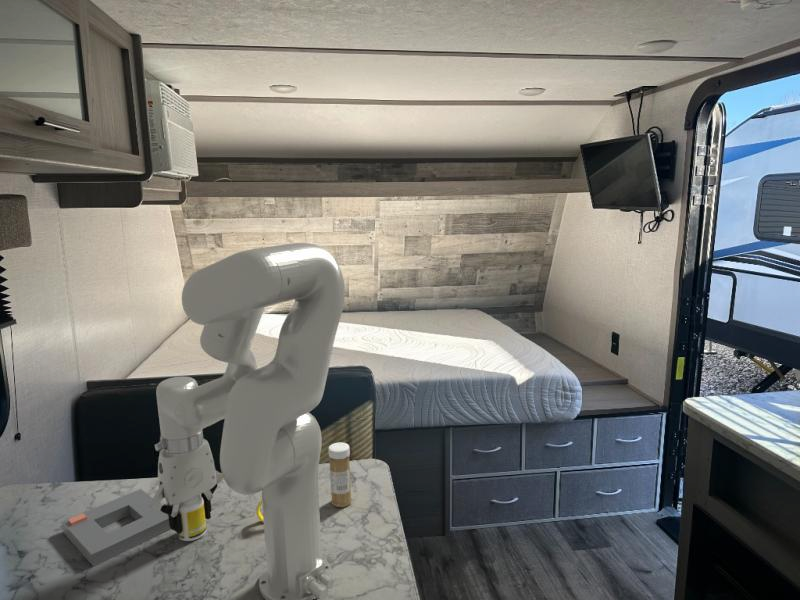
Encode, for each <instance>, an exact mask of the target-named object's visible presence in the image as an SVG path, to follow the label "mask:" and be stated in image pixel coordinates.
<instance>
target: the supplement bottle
mask: <svg viewBox="0 0 800 600" xmlns="http://www.w3.org/2000/svg"><path fill="white" fill-rule="evenodd" d="M178 513H179V514H180V515H181V523H182V533H180V534H178V533H177V535H178V538H179V540H181V541H183V542H192V541H195V540H198V539H200V538H202V537H203V536H205V534H206V532H207V521H206V520H207V519H206V518H205V509H204V501H203V498H202V497H201V494H199V495H197V496H195V497H193V498H191V499H189V500H186V501H184V502H182V503H180V504H179V509H178Z"/></svg>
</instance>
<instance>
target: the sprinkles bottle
mask: <svg viewBox="0 0 800 600" xmlns="http://www.w3.org/2000/svg"><path fill="white" fill-rule="evenodd" d="M350 449H351V448H350V445H349V444H348V443H346V442H335V443H331V445H329V446H328V452H327V453H328V458H329V474H330V476H329V477H330V479H329V480H330V491H331V504H332V506H333V507H336V508H345V507H348V506H349V505H351V504H352V493H351V492H352V490H351V489H352V484H351V483H352V480H351V469H350V468H351V467H350V455H351V451H350Z"/></svg>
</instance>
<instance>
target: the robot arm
mask: <svg viewBox="0 0 800 600" xmlns="http://www.w3.org/2000/svg"><path fill="white" fill-rule="evenodd" d="M345 286H346V285H345V280H344V276H343V273H342V270H341V268H340V265H339V264H338V262H337V260H336V259H335V257H334V256H333V255H332V253H330V252H329V251H328V250H327V249H326V248H324V247H322V246H320V245H317V244H315V243H311V242H310V243H309V242H308V243H307V242H294V243H286V244H280V245H278V244H277V245H273V246H266V247H259V248H252V249H247V250H243V251H239V252H236V253H234V254H231V255H229V256H227V257H225V258H223V259H221V260H218V261H216V262H214V263H212V264H209V265H207V266H205V267H202V268H201V269H198V270H196V271H195V272H193V274H191V275H190V276H189V277H188V278H187V280H186V281H185V282H184V285H183V287H182V292H181V304H182V310H183V311H184V313H185V315H186V317H188V319H189V320H191V322H193V323H195V324H196V325H200V326H203V328H202V331H201V334H200V338H199V344H200V348H202V350H203V352H204V353H206V355H208V356H209V357H211V358H213V359H214V360H217V361H219V362H220V361H221V362H224V363H227V366H226V368H225V369H226V370H225V372H224V373H223V375H222V376H220V377H218V378H216V379H213V380H210V381H208V382H205V383H203V384H200V385H198V382H197V380H196V379H195V378H193V377H191V376H174V377H170V378H166V379H164V380H162V381H161V382H160V383H158V385H157V387H156V391H155V393H156V404H157V411H158V419H159V427H160V428H159V429H160V436H159V440H160V441H158V443H156V444H154V448H155V451H156V452H159V454H158V455H159V456H158V462H157V482H158V483H157V484H158V486H157V487H158V489H157V490H156V492H155V494H154V495H153V496H152V498H153V499H152V500H151V502H150V504H149V506H150V507H151V508H152V509H155V510H158V511H161V512H163V513H166V514H168V517H169V526H170V528H171V529H170V530H171V531H174V532H175V533H177V535H178V534H180V533H182V523H181V515H180V514H179V513H178V509H179V504H180V503H182V502H184V501H186V500H189V499H191V498H193V497H195V496H197V495H200V496H201V497H202V498H203V501H204V509H205V519H206V520H211V518H212V515H211V512H212V503H211V502H212V501H211V500H212V499H213V498H214V495H213V494H214V493H215V491H216V489H217V488H218V485H219V484H220V483H221V481H222V480H223V479H224V481H225V484H227V486H228V487H229V488H230V490H232V491H233V492H235V493H237V494H240V495H244V496H246V495H247V496H249V495H255V494H258V493H260V492H261V500H262V504H261V505H262V516H263V521H264V522H263V531H264V533H263V534H264V544H265V557H266V566H265V567H264V569H263V570H262V571H261V573H260V576H259V579H258V587H259V593H260V595H261V596H262V597H263V598H264V599H265V600H313V599H314V600H315V599H318V600H326V599H327V598H328V596H329V589H328V588H331V587H333V585H334V582H335V581H334V579H333V578H332V567H331V565H330V563H329V562H328V560H327V559H326V558H325V557H323V554H322V535H321V534H322V533H321V519H320V516H321V515H320V502H319V501H320V500H319V499H320V494H319V493H320V491H319V469H320V467H319V466H320V458H321V453H322V445H323V444H322V442H323V441H322V440H323V439H322V431H321V430H322V429H321V427H320V425H319V422H318V421H317V419H316V417H315V416H314V415H312V413H310V412H311V411H312V410H314V409H315V408H316V407H318V405H319V404H320V402H321V401H322V399H323V396H324V391H325V389H326V387H325V386H326V382H327V377H328V373H329V369H330V364H331V358H332V355H333V350H334V344H335V340H336V335H337V330H338V327H339V323H340V322H341V321H340V320H341V317H342V313H343V309H344V306H345V305H344V304H345V297H346V296H345V295H346V287H345ZM293 300H294V303H293V305H292V307H291V308H290V311H289V312H288V314H287V316H286V317H285V319H284V321H283V323H282V326H281V328H280V332H279V334H278V343H277V346H276V351H275V354H274V357H273V359H272V361H270V362H269V363H268V364H266V365H264V366H261V367H259V368H258V366H257V362H256V357H255V355H254V354H253V352H252V350H251V347H252V344H253V342H254V339H255V335H256V334H257V333H256V332H257V329H258V327H259V325H260V322H261V319H262V315H263V313H264V310H265V308H267V307H271V306H274V305H278V304H282V303H286V302H290V301H293ZM221 420H224V422H223V427H222V436H221V442H220V450H219V451H220V452H219V464H220V465H219V466H220V471H221V472H220V471H218V470H216V467H215V460H214V458H213V457H214V456H213V453H212V450H211V447H210V444H209V442H208V440H207V439H205V438H204V434H203V432H204V431H203V429H206V428H207V427H210V426H212V425H214V424H216V423H218V422H220V421H221ZM164 498H165V501H166V503H164V502H162V501H163V499H164Z"/></svg>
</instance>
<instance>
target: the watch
mask: <svg viewBox="0 0 800 600" xmlns="http://www.w3.org/2000/svg"><path fill="white" fill-rule="evenodd" d="M261 505H262V499H260V501H259V502H258V504H257V507H256V515H257V518H258V519H259V521H261V522H262V523H264V521H263V513H262V511H261Z"/></svg>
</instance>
